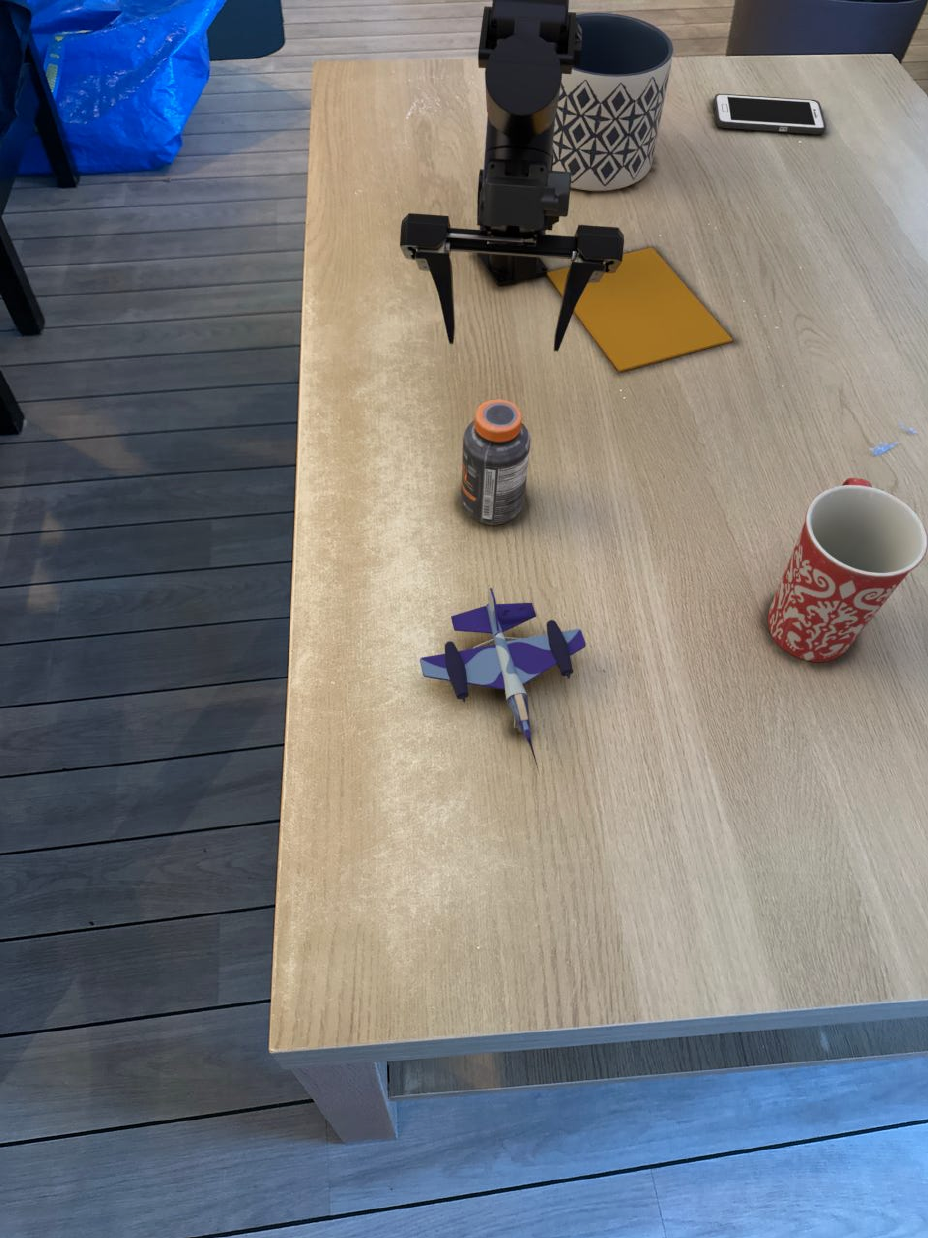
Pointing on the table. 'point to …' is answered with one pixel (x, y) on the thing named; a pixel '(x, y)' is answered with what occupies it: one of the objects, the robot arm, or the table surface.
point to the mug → (844, 568)
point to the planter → (612, 102)
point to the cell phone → (769, 113)
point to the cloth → (643, 312)
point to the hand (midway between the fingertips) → (503, 347)
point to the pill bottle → (495, 463)
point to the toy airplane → (504, 656)
